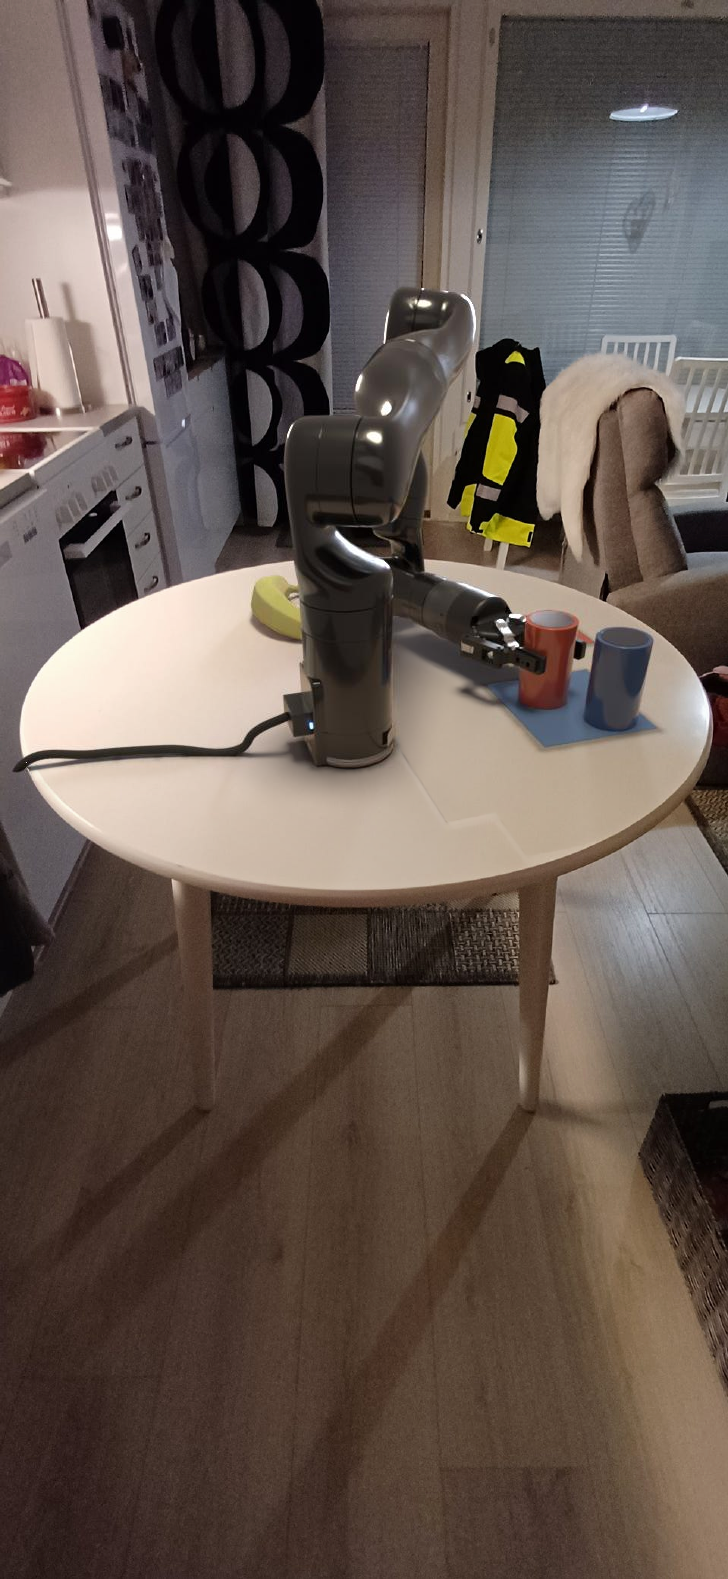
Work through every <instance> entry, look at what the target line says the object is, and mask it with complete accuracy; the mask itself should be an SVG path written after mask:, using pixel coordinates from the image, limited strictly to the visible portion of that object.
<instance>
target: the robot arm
mask: <svg viewBox="0 0 728 1579" xmlns="http://www.w3.org/2000/svg"><path fill="white" fill-rule="evenodd" d="M475 314H476V313H475V309H474V306H473V304H472V301H471V300H470V299H469V298H468V297H467V296H465V295H464V294H461V293H458V292H455V291H449V290H448V291H445V290H437V289H430V288H424V287H423V288H422V287H416V286H401V287H398V288H397V289H396V290H395V291H394V292H393V294H392V296H391V298H390V301H389V303H388V308H387V311H386V317H385V323H384V331H383V343H382V344H381V345H380V346H379V347H378V348H377V349H376V350H375V352H373V353H372V355H371V357H370V358H369V359H368V360H367V362H366V364H365V365H364V366H363V367H362V370H361V371H360V373H359V374H358V377H357V380H356V383H355V386H354V391H353V403H354V410H355V414H356V415H346V414H345V415H344V414H340V415H339V414H332V415H331V414H308V415H301V416H300V417H298V418H296V419H295V420H294V421H293V422H292V424H291V426H290V427H289V429H288V432H287V435H286V439H285V444H284V453H283V454H284V455H283V467H284V468H283V469H284V470H283V471H284V472H283V473H284V487H285V496H286V503H287V511H288V519H289V526H290V534H291V536H290V537H291V544H292V545H291V546H292V556H293V566H294V572H295V577H296V581H297V586H298V589H299V593H298V600H299V601H298V602H299V609H300V617H301V632H302V640H301V646H302V660H301V661H300V662H299V665H298V666H299V667H298V668H299V678H300V691H299V692H293V693H286V694H283V695H282V699H283V700H282V701H283V713H281V714H277V715H275V716H273V717H270V718H268V719H266V720H264V721H261V722H260V723H258V724H256V725H255V726H254V727H252V728H251V729H250V730H248V732H247V734H246V735H245V736H244V739H243V740H242V742H241V743H238V744H236V745H233V746H230V747H223V748H214V747H213V748H212V747H202V746H194V745H186V744H152V745H151V744H150V745H132V746H131V745H130V746H117V747H106V748H105V747H104V748H97V749H96V748H95V749H43V750H38V751H35V752H32V753H30V754H27V755H25V756H24V757H22V758H21V759H20V760H19V761H18V762H16V764H15V765H14V767H13V769H12V772H13V773H21V772H24V771H25V769H27V768H28V767H29V766H31V765H33V764H34V763H37V762H41V761H44V760H52V759H55V760H58V759H59V760H94V759H103V758H104V759H105V758H117V757H128V756H143V755H145V756H146V755H147V756H148V755H164V754H165V755H166V754H167V755H168V754H169V755H172V754H176V755H188V756H197V757H233V756H237V755H241V754H243V753H245V752H246V751H248V750H249V748H250V747H251V746H252V744H253V743H254V740H255V739H256V738H257V737H258V736H259V735H261V734H263V733H265V732H267V731H268V730H271V729H272V728H275V727H277V726H280V725H282V724H284V723H287V725H288V727H289V730H290V732H291V734H292V737H293V738H299V737H304V742H305V744H306V746H307V749H308V752H309V754H310V755H311V758H312V760H313V762H314V764H315V765H316V766H317V767H319V766H324V765H325V766H327V765H328V766H332V767H337V768H360V767H365V766H369V765H374V764H376V763H378V762H380V761H382V760H384V759H386V758H387V757H388V756H389V755H390V754H391V753H392V751H393V748H394V737H395V734H396V733H397V719H395V720H394V722H393V692H394V691H393V690H394V689H393V686H394V684H393V683H394V682H393V679H394V678H393V676H394V674H393V672H394V671H393V670H394V669H393V668H394V666H393V665H394V663H393V660H394V658H393V657H394V656H393V653H394V651H393V648H394V640H393V637H394V617H396V618H401V619H405V620H408V621H411V622H413V623H414V624H416V625H418V626H420V627H423V628H425V629H427V630H429V631H431V632H433V633H434V634H435V635H437V636H438V637H439V638H441V639H443V640H445V641H448V643H452V644H453V645H456V646H458V647H460V656H461V657H462V658H466V659H469V660H471V661H474V662H477V663H479V664H481V665H484V666H487V667H490V668H493V669H496V670H500V669H502V668H503V665H506V666H508V667H512V668H513V667H519V668H520V667H521V668H523V669H525V670H527V671H530V672H532V673H534V674H537V675H541V674H543V673H545V669H546V661H547V659H546V657H545V656H544V655H542V654H539V653H537V652H535V651H532V650H530V649H528V648H526V647H522V646H523V636H524V626H525V618H526V617H525V616H526V615H522V614H516V613H513V612H512V610H511V608H510V606H509V604H508V603H507V601H506V600H505V599H503V598H502V597H500V596H498V595H495V594H492V593H490V592H487V591H485V590H482V589H480V588H477V587H475V586H473V585H470V584H467V583H464V582H460V581H455V580H451V579H450V578H446V577H444V576H441V575H438V574H436V573H433V572H428V571H426V569H425V568H426V567H425V556H424V543H423V533H422V528H423V521H424V516H425V509H426V502H427V498H428V497H427V496H428V492H429V491H428V490H429V471H428V466H427V462H426V461H427V460H426V458H425V455H424V452H423V449H422V448H423V446H424V443H425V441H426V439H427V437H428V434H429V433H430V430H431V428H432V427H433V425H434V423H435V421H436V419H437V418H438V415H439V414H440V411H441V409H442V407H443V405H444V402H445V399H446V397H447V393H448V391H449V388H450V387H451V385H452V384H453V383H454V381H455V380H456V379H457V378H458V376H459V375H460V373H461V372H462V371H463V369H464V367H465V365H466V364H467V361H468V359H469V357H470V354H471V351H472V348H473V344H474V340H475V334H476V315H475ZM337 527H347V528H348V527H351V528H371V531H372V533H373V534H374V535H375V536H376V537H378V538H380V539H383V540H386V541H389V544H390V548H391V549H390V550H391V556H377V555H375V554H373V553H370V552H369V551H366V550H365V549H362V548H361V547H359V546H357V545H355V544H354V543H353V542H351V541H349V540H348V539H347V538H346V537H345V536H344V535H342V533H341V532H340V531H339V529H338V528H337ZM536 611H542V609H537V610H535V611H534V612H536ZM586 652H587V644H586V642H585V641H583V640H580V639H578V638H577V640H576V647H575V654H574V660H577V661H579V660H582V659H583V660H584V658H585V657H586ZM489 653H492V657H490V656H489ZM26 762H27V763H26Z"/></svg>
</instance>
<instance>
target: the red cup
mask: <svg viewBox="0 0 728 1579" xmlns="http://www.w3.org/2000/svg"><path fill="white" fill-rule="evenodd" d="M541 610H542V609H541ZM535 611H536V612H535ZM535 611H532V612H530V613H527V616H526V615H525V616H526V618H525V626H524V636H523V646H522V647H526V648H528V649H530V650H532V651H535V652H537V653H539V654H542V655H544V656H545V657H546V659H547V661H546V669H545V673H543V674H541V675H537V674H534V673H532V672H530V671H527V670H525V669H523V668H521V667H519V676H518V680H519V684H518V694H517V697H518V700H519V701H520V702H521V703H522V704H524V705H526V706H528V707H531V708H535V709H543V710H549V709H557V708H560V707H562V706H564V705H565V704H566V703H567V701H568V696H569V689H570V682H571V675H572V672H573V668H574V666H573V665H574V660H575V659H574V654H575V647H576V640H577V633H578V630H579V626H580V620H579V618H578V617H577V616H575V615H574V614H572V613H568V612H566V611H561V610H556V609H555V610H554V609H543V610H542V611H537V610H535Z"/></svg>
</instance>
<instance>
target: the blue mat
mask: <svg viewBox="0 0 728 1579" xmlns="http://www.w3.org/2000/svg"><path fill="white" fill-rule="evenodd" d="M589 675H590V671H588V670H587V669H582V670H574V671H572V675H571V682H570V689H569V696H568V701H567V703H566V704H565V705H564V706H562V707H560V708H557V709H549V710H543V709H535V708H531V707H528V706H526V705H524V704H522V703H521V702H520V701H519V700H518V697H517V694H518V684H519V679H514V680H508V681H501V682H494V683H488V684H485V686H486V687H487V688H488V689H489V690H490V692H492V693H493V694H494V695H495V696H496V697H497V699H499V701H500V702H501V703H502V704H503V705H504V706H505V707H506V708H507V709H508V711H510V713H512V714H513V716H514V717H516V719H517V720H518V721H519V722H520V723H521V724H522V725H523V726H524V727H525V728H526V730H528V732H530V734H531V735H532V736H533V737H534V738H535V739H536V740H537V741H538V742H539V743H540V744H541V746H543V748H550V747H556V746H562V745H567V744H573V743H579V742H584V741H590V740H596V739H602V738H609V737H613V736H619V735H625V734H631V733H637V732H642V731H650V730H655V729H658V726H656V725H655V724H654V723H652V721H650V720H649V719H647V718H646V717H645V716H644V715H643V714H642V713H641V712H639V715H638V720H637V724H636V725H635V726H634V727H633V728H631V729H629V730H625V731H606V730H601V729H598V728H595V727H593V726H591V725H589V724H588V723H587V722H586V721H585V720H584V718H583V712H584V706H585V700H586V694H587V687H588V681H589Z"/></svg>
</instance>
